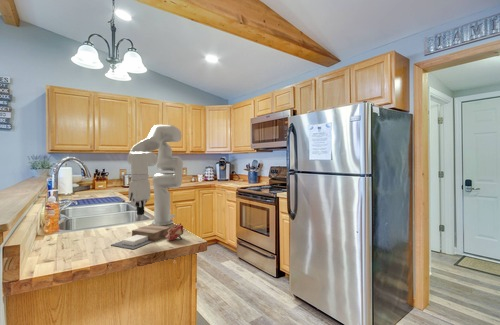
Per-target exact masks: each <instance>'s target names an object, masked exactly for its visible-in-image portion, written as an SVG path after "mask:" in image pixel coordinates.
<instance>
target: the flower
mask: <svg viewBox="0 0 500 325" xmlns="http://www.w3.org/2000/svg"><path fill="white" fill-rule="evenodd" d="M184 229H185V228H184V226H183V224H182V223H181V222H180V223H177V224H176V223H175V224H174V226H171V228H170V229H169V230H168V231H167V232H168V233H169V234H168V235H166V236H165V237H164V238H166V239H167V238H168V241H174V240H176V239H178V238H179V239H180V240H182V239H183V237H182V235H183V234H184Z"/></svg>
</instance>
